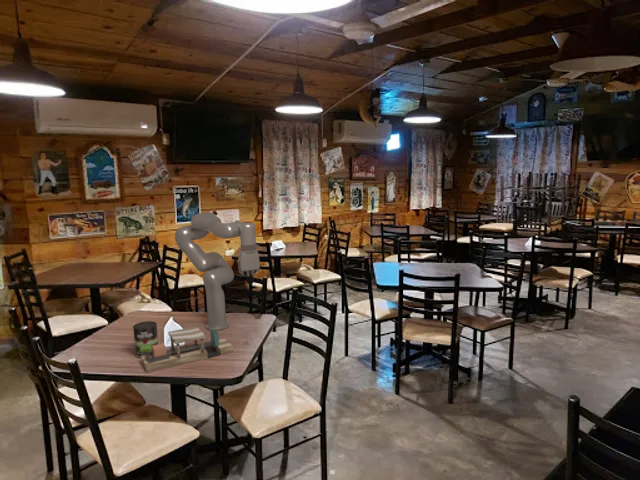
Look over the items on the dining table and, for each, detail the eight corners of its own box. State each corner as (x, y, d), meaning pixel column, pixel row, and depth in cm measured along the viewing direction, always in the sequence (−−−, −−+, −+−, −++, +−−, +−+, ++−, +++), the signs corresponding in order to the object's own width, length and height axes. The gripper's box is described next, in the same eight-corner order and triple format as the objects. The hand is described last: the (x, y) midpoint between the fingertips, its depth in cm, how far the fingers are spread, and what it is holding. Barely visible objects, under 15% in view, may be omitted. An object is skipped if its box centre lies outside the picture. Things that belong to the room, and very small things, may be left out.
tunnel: (141, 361, 202) (139, 337, 200) (223, 343, 221) (222, 321, 219) (147, 373, 190) (144, 348, 188) (233, 352, 209) (232, 329, 207)
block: (152, 356, 199) (151, 345, 199) (164, 353, 202) (163, 343, 201) (154, 360, 195) (153, 349, 194) (166, 357, 198) (165, 346, 197)
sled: (145, 355, 199) (144, 343, 199) (214, 340, 215) (213, 328, 214) (148, 362, 192) (147, 349, 191) (220, 346, 208) (219, 334, 207)
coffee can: (158, 356, 207) (155, 327, 205) (134, 359, 204) (131, 329, 202) (160, 348, 217) (157, 320, 214) (137, 351, 214) (134, 322, 212)
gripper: (259, 245, 231) (261, 280, 234) (231, 248, 224) (233, 284, 227) (265, 247, 224) (266, 283, 227) (236, 250, 217) (238, 287, 220)
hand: (250, 283), depth 227 cm, fingers closed
